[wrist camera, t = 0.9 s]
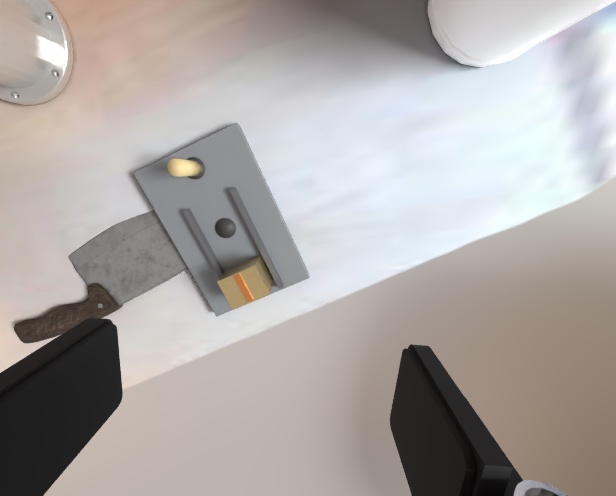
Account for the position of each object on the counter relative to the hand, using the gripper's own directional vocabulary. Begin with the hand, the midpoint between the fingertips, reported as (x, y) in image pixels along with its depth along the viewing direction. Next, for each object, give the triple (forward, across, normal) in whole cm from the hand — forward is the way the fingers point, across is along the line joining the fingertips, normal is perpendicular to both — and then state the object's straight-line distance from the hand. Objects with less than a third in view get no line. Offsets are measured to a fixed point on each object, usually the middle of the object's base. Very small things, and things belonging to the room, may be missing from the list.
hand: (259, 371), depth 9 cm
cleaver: (+30, +27, +10) cm, 41 cm away
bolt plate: (+29, +9, +1) cm, 31 cm away
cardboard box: (+28, +6, +7) cm, 29 cm away
